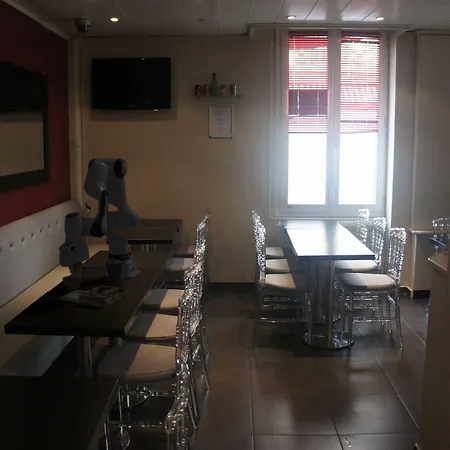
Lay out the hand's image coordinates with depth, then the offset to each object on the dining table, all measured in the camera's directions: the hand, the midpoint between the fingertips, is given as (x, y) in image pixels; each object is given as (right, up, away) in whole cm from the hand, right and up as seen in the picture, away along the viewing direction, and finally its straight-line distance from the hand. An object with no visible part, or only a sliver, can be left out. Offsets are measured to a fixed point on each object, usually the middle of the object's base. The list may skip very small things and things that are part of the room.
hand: (75, 271), depth 282 cm
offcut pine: (+17, -15, -5) cm, 23 cm away
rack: (+14, -14, -3) cm, 20 cm away
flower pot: (-6, -12, +17) cm, 22 cm away
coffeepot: (+16, -11, +19) cm, 27 cm away
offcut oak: (+19, -14, 0) cm, 24 cm away
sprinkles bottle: (0, -6, +1) cm, 6 cm away
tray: (0, -14, +2) cm, 14 cm away
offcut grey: (+15, -15, -9) cm, 24 cm away
